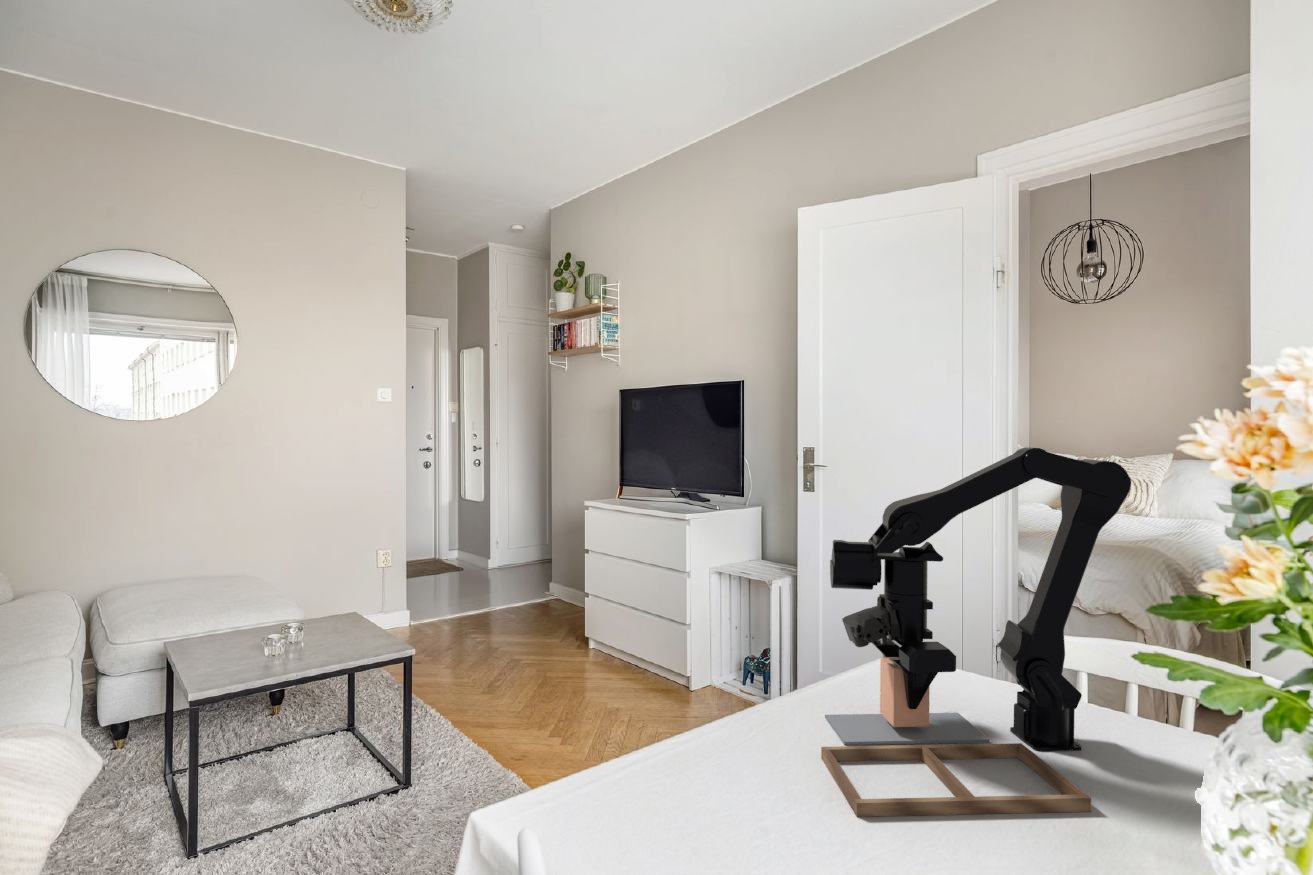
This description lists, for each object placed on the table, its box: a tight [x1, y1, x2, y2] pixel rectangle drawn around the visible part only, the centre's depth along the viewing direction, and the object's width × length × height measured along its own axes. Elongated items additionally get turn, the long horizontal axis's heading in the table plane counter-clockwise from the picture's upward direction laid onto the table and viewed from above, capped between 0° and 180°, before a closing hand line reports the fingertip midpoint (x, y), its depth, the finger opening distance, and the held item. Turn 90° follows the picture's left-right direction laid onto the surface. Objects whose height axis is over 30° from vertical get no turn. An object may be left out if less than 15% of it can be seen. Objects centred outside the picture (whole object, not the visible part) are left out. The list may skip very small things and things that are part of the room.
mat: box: [824, 712, 991, 746], centre depth 99 cm, size 20×9×1 cm, turn 93°
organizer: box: [820, 742, 1092, 818], centre depth 84 cm, size 26×14×2 cm, turn 93°
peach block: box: [879, 656, 930, 727], centre depth 99 cm, size 5×5×8 cm
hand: (904, 701), depth 99 cm, fingers closed on peach block, 5 cm apart
